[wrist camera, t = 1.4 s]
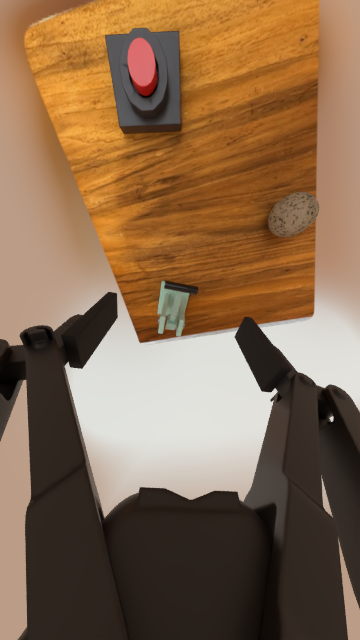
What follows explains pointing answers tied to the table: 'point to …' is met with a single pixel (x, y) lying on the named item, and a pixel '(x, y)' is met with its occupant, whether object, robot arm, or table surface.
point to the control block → (164, 101)
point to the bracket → (166, 308)
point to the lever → (177, 300)
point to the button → (142, 66)
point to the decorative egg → (293, 214)
